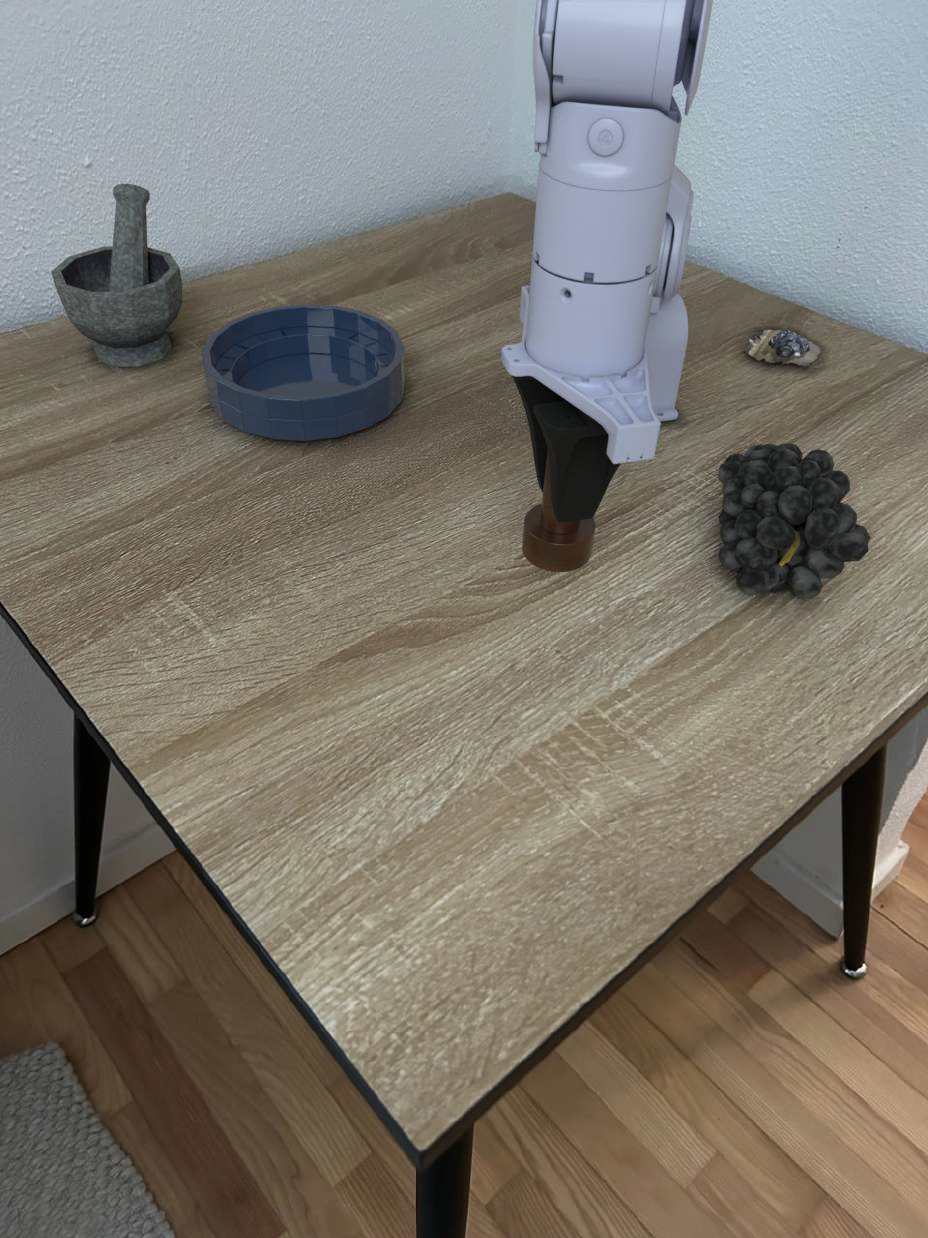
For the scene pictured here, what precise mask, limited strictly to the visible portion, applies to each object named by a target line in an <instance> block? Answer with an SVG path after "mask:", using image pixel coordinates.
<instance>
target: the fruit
mask: <svg viewBox="0 0 928 1238" xmlns="http://www.w3.org/2000/svg"><path fill="white" fill-rule="evenodd" d="M834 467H835V462H834V458H833V456H832V455H831V454H830V452H829V451H827V450H824V449H819V448H818V449H813V450H810V451H809V452H808V453H807V454H806V455H805V457H803V452H802V450H801V449H800V447H799V446H798V444H795V443H793V442H786V443H781V444H778V445H776V444H774V443H766V444H757V445H753V446H750V447H749V448H748V449H747V450H746V451H745V452H744V454H742V453H732V454H730V455H728V456H727V457H726V458H725V460H724V462H722V463H721V464H720V465H719V468H718V472H717V478H718V481H719V482H721V483H722V494H723V495H722V496H723V498H722V501H721V504H722V509H721V510H720V512H719V514H718V516H717V518H718V521H719V525H720V526H721V528H720V530H719V538H720V540H721V542H722V544H723V546H721V547H720V549H719V553H718V555H717V556H718V557H717V558H718V561H719V563H720V565H721V566H722V567H723V568H725V569H726V570H727V571H728V572H729V571H730V572H733V573H735V574H736V577H735V582H736V585H737V588H738V589H739V590H740V591H741V592H742V593H744V594H746V595H750V596H752V595H759V594H766V593H767V592H772V593H773V594H777V593H779V592H781V591H784V590H786V589H789V591H790V592H791V593H792V594H793V596H795V598H796V599H801V600H806V601H807V600H811V599H814V598H815V597H817V596H818V595H819V594H820V593H821V591H822V589H823V583H822V579H824V580H827V579H828V580H831V579H833V578H836V577H837V576H839V575H842V573H843V571H844V568H845V563H849V562H851V563H853V562H861V560H862V559H863V558H864V557H865V555H867V554H868V553H869V543H870V541H871V535H870V534H869V531H868V530H867V527H866V526H864V525H860V524H857V523H858V513H857V512H856V511H855V509H854V508H853V507H852V506H850V505H849V503H843V502H842V500H843V499H844V498H845V497H846V496H847V495H848V493H849V492H850V491H851V481H850V478H849V477H848V474H846V473H845V472H843V471H842V470H835V469H834ZM788 566H791V567H793V568H792V569H790V567H788ZM821 578H822V579H821Z"/></svg>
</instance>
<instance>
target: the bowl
mask: <svg viewBox="0 0 928 1238" xmlns="http://www.w3.org/2000/svg"><path fill="white" fill-rule="evenodd" d="M201 357H202V365H203V371H204V375H205V382H206V389H207V395H208V399H209V405H210V407H211V408H212V410H214V412H215V413H216V414H217V415H218V417H219V418H220V419H221V420H222V422H225V423H227V424H228V425H231V426H232V427H234V428H236V429H238V430H240V431H242V432H244V433H247V434H252V435H256V436H259V437H264V438H268V439H273V440H281V441H282V440H283V441H298V442H309V441H316V440H325V439H334V438H339V437H343V436H346V435H349V434H352V433H356V432H359V431H362V430H365V429H368V428H370V427H372V426H373V425H375V424H378V422H380V421H383V420H384V419H386V418H387V417H389V416H390V415H391V414H392V413H393V412H394V410H395V409H396V408H397V407H398V406H399V404H401V402H402V401H403V396H404V393H405V389H406V388H405V387H406V367H405V365H406V364H405V361H406V359H405V345H404V342H403V341H402V338H401V336H400V334H399V331H397V330H396V329H395V328H393V326H392V325H390V324H388V323H387V321H385V320H384V319H383V318H382V319H381V318H379V317H377V316H374V315H372V314H371V313H368V312H365V311H363V310H359V309H354V308H349V307H345V306H340V305H333V304H332V305H331V304H313V303H312V304H311V303H301V304H291V305H290V304H289V305H280V306H279V305H278V306H274V307H269V308H264V309H259V310H257V311H253V312H248V313H246V314H244V315H241V316H240V317H236V318H234V319H232V320H230V321H228V322H226V323H225V324H223V325H222V326H221V327H219V328H218V329H217V330H215V331H214V332H213V333H212V334H210V335H209V337H208V338H207V340H206V343H205V344H204V346H203V348H202V349H201Z"/></svg>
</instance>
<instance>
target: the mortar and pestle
mask: <svg viewBox="0 0 928 1238" xmlns="http://www.w3.org/2000/svg"><path fill="white" fill-rule="evenodd" d="M112 191H113V192H112V195H113V198H114V199H115V213H114V225H113V234H112V235H113V237H112V246H111V245H110V246H108V245H107V246H101V247H98V248H97V247H96V248H94V249H90V250H86V251H83V252H80V253H76V254H72V255H69V256H67V258H65V260H63V261H62V262H61V263H60V264H58V265H57V266H56V267H55V268H54V269H53V270H52V271H51V276H52V280H53V284H54V288H55V290H56V293H57V295H58V297H59V301H60V302H61V304H62V307H63V309H64V311H65V314H66V316H67V318H68V320H69V322H70V323H71V324H72V325H73V326H74V327H75V329H76V330H77V331H78V332H79V333H80V334H81V335H82V336H84V337H86V338H87V339H90V340H91V341H92V343H93V348H94V349H93V350H94V352H95V355H96V357H97V359H98V361H99V362H100V363H104V364H106V365H108V366H109V365H110V366H113V367H115V368H133V367H144V366H147V365H149V364H153V363H154V362H157V361H160V360H163V359H164V358H165V357H166V355H167V354H168V353H169V352H170V350H172V343H171V339H170V337H169V335H168V333H167V329H169V327H170V326H171V325H172V324H173V323H174V322H175V320H176V319H178V315H179V313H180V309H181V306H182V304H183V280H182V274H181V269H180V268H181V267H180V266H179V265H178V263H177V261H176V260H175V258H174V257H173V255H172V254H171V253H170V252H166V251H163V250H159V249H156V248H152V247H148V224H147V223H148V221H147V220H148V219H147V205H148V203H149V202H150V201H151V197H150V196H151V195H150V194H151V193H150V191H149V190H148V189H146V188H144V187H142V186H140V185H136V184H133V183H118V184H116V185H114V186H113V189H112Z"/></svg>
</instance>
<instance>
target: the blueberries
mask: <svg viewBox="0 0 928 1238" xmlns="http://www.w3.org/2000/svg"><path fill="white" fill-rule="evenodd" d="M754 337H755V340H753V339H751V338H749V344H748V345H747V346H745V347H744V349H743V352H744V353H746V354H747V355H749V356H750V357H752V358H753V359H755V361H758V362H759V361H761V360H764V361H765V363H769V364H773V363H774V364H775V363H782V365H785V364H787V365H790V364H795V365H798V366H799V367H801V366H802V367H806V366H808V367H809V366H811V365H810V364H811V363H814V362H816V360H817V358H819V356H820V354H821V353H822V350H821V348H820V346H818V345H817V344H815V343H813V341H809V340H808V339H807V338H806V337H804V336H803V335H802V334H798V333H796V332H794V331H793V330H791V329H788V328H786V329H782V330H781V329H777V330H774V329H766V330H763V331H762V334H758V337H759V338H760V339H759V338H758V337H757V336H754Z"/></svg>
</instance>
